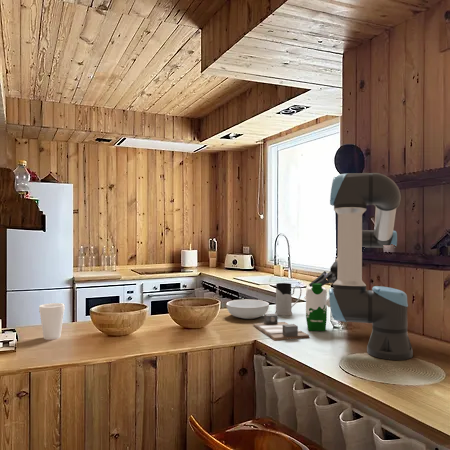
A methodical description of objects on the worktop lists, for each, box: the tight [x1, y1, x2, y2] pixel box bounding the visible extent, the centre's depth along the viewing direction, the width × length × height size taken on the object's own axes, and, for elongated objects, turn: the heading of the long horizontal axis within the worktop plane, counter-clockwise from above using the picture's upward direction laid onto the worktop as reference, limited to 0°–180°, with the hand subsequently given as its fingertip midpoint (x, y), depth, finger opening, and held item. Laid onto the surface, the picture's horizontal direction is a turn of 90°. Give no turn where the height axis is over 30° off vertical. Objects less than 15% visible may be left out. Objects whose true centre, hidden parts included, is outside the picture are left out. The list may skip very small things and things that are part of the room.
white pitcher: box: [274, 282, 302, 316], centre depth 229 cm, size 9×14×15 cm, turn 107°
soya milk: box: [305, 283, 328, 332], centre depth 195 cm, size 9×9×20 cm
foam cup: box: [38, 302, 66, 341], centre depth 180 cm, size 10×9×13 cm
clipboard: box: [252, 313, 310, 341], centre depth 191 cm, size 25×15×5 cm, turn 16°
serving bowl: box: [225, 298, 270, 320], centre depth 220 cm, size 21×21×7 cm
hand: (316, 302), depth 196 cm, fingers open, 13 cm apart
